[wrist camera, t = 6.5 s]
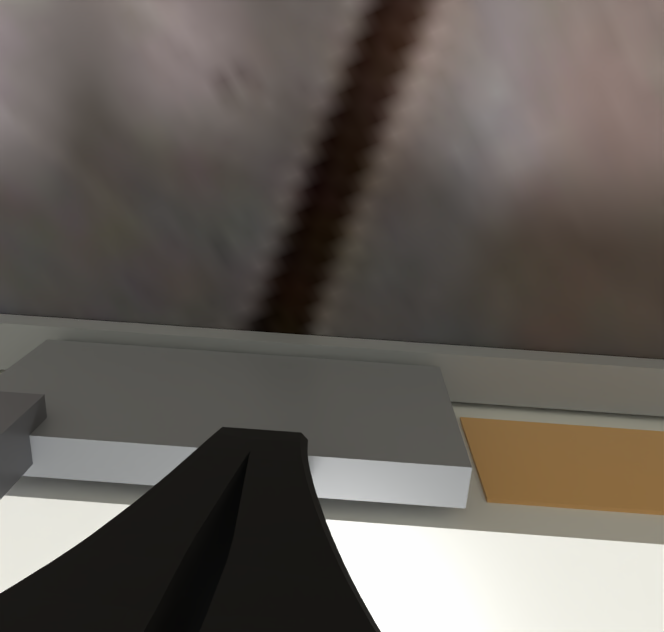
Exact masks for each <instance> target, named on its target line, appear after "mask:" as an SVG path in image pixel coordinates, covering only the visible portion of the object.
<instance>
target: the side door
mask: <svg viewBox="0 0 664 632" xmlns="http://www.w3.org/2000/svg"><path fill="white" fill-rule="evenodd" d="M222 427H233V428H247V429H261V430H275V431H289V432H301V433H302V434H303V435H304V436H305V437H306V438H307V439H308V461H309V467H310V471H311V475H312V479H313V483H314V487H315V490H316V494H317V497H318V498H329V499H343V500H356V501H370V502H383V503H397V504H411V505H424V506H438V507H451V508H465V509H466V503H467V497H468V490H469V484H470V478H471V472H472V466H471V463H470V459H469V456H468V453H467V450H466V447H465V444H464V441H463V438H462V435H461V432H460V428H459V425H458V422H457V419H456V416H455V413H454V410H453V407H452V404H451V401H450V397H449V394H448V391H447V388H446V385H445V382H444V379H443V376H442V373H441V370H440V367H435V366H420V365H406V364H392V363H377V362H363V361H348V360H334V359H320V358H305V357H291V356H277V355H262V354H248V353H234V352H219V351H205V350H191V349H176V348H162V347H148V346H133V345H119V344H105V343H90V342H76V341H62V340H45V341H44V342H43V343H41V344H40V345H39V346H37V347H36V348H35V349H33V350H32V351H31V352H29V353H28V354H27V355H25V356H24V357H23V358H21V359H20V360H19V361H17V362H16V363H15V364H13V365H12V366H11V367H9V368H8V369H7V370H5V371H4V372H3V373H1V374H0V500H1V499H2V497H3V496H4V495H5V494H6V493H7V492H8V491H9V490H10V489H11V488H12V486H13V485H14V484H15V483H16V482H17V481H18V480H19V479H20V478H21V477H22V476H31V477H45V478H58V479H72V480H85V481H99V482H112V483H126V484H139V485H153V486H154V485H156V484H157V483H158V482H159V481H160V480H162V479H163V478H164V477H165V476H166V475H168V474H169V473H170V472H171V471H172V470H173V469H174V468H176V467H177V466H178V465H179V464H180V463H181V462H182V461H184V460H185V459H186V458H187V457H188V456H189V455H190V454H192V453H193V452H194V451H195V450H196V449H197V448H198V447H199V446H200V445H202V444H203V443H204V442H205V441H206V440H207V439H208V438H210V437H211V436H212V435H213V434H214V433H216V432H217V431H218V430H219V429H220V428H222Z"/></svg>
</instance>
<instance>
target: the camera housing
mask: <svg viewBox="0 0 664 632" xmlns="http://www.w3.org/2000/svg"><path fill="white" fill-rule="evenodd" d="M45 340H62V341H76V342H90V343H105V344H119V345H133V346H148V347H162V348H176V349H191V350H205V351H219V352H234V353H248V354H262V355H277V356H291V357H305V358H320V359H334V360H348V361H363V362H377V363H392V364H406V365H420V366H435V367H440V370H441V373H442V376H443V379H444V382H445V385H446V388H447V391H448V394H449V397H450V401H451V404H452V407H453V410H454V413H455V416H456V419H457V422H458V425H459V428H460V432H461V435H462V438H463V441H464V444H465V447H466V450H467V453H468V456H469V459H470V463H471V466H472V472H471V478H470V484H469V490H468V497H467V503H466V509H465V508H451V507H438V506H424V505H411V504H397V503H383V502H370V501H356V500H343V499H329V498H318V499H319V502H320V505H321V508H322V511H323V514H324V517H325V519H326V522H327V525H328V527H329V530H330V532H331V535H332V537H333V540H334V542H335V544H336V546H337V549H338V551H339V553H340V555H341V557H342V560H343V562H344V564H345V566H346V568H347V570H348V572H349V574H350V576H351V579H352V581H353V582H354V584H355V586H356V588H357V590H358V592H359V594H360V596H361V598H362V599H363V601H364V603H365V605H366V607H367V608H368V610H369V612H370V614H371V615H372V617H373V619H374V621H375V623H376V624H377V626H378V627H379V629H380V631H381V632H664V360H663V359H648V358H634V357H619V356H605V355H590V354H576V353H561V352H547V351H532V350H518V349H503V348H489V347H474V346H460V345H445V344H431V343H416V342H402V341H387V340H373V339H358V338H344V337H329V336H315V335H300V334H286V333H271V332H257V331H242V330H228V329H214V328H199V327H185V326H170V325H156V324H141V323H127V322H112V321H98V320H83V319H69V318H54V317H40V316H25V315H11V314H0V374H1V373H3V372H4V371H5V370H7V369H8V368H9V367H11V366H12V365H13V364H15V363H16V362H17V361H19V360H20V359H21V358H23V357H24V356H25V355H27V354H28V353H29V352H31V351H32V350H33V349H35V348H36V347H37V346H39V345H40V344H41V343H43V342H44V341H45ZM152 487H153V485H139V484H126V483H112V482H99V481H85V480H72V479H58V478H45V477H31V476H22V477H21V478H20V479H19V480H18V481H17V482H16V483H15V484H14V485H13V486H12V488H11V489H10V490H9V491H8V492H7V493H6V494H5V495H4V496H3V497H2V499H1V500H0V593H1V592H3V591H5V590H6V589H8V588H10V587H11V586H13V585H15V584H16V583H18V582H20V581H21V580H23V579H24V578H26V577H28V576H29V575H31V574H32V573H34V572H36V571H37V570H39V569H40V568H42V567H44V566H45V565H47V564H48V563H50V562H52V561H53V560H55V559H56V558H58V557H59V556H61V555H62V554H64V553H65V552H67V551H68V550H70V549H71V548H73V547H74V546H76V545H77V544H79V543H80V542H82V541H83V540H84V539H86V538H87V537H89V536H90V535H91V534H93V533H94V532H95V531H97V530H98V529H99V528H101V527H102V526H103V525H105V524H106V523H107V522H109V521H110V520H111V519H113V518H114V517H115V516H117V515H118V514H119V513H121V512H122V511H123V510H125V509H126V508H127V507H129V506H130V505H131V504H133V503H134V502H135V501H136V500H138V499H139V498H140V497H141V496H142V495H144V494H145V493H146V492H147V491H148V490H150V489H151V488H152Z"/></svg>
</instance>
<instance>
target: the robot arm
mask: <svg viewBox="0 0 664 632" xmlns="http://www.w3.org/2000/svg"><path fill="white" fill-rule="evenodd" d="M0 632H381V631H380V629H379V627H378V626H377V624H376V623H375V621H374V619H373V617H372V615H371V614H370V612H369V610H368V608H367V607H366V605H365V603H364V601H363V599H362V598H361V596H360V594H359V592H358V590H357V588H356V586H355V584H354V582H353V581H352V579H351V576H350V574H349V572H348V570H347V568H346V566H345V564H344V562H343V560H342V557H341V555H340V553H339V551H338V549H337V546H336V544H335V542H334V540H333V537H332V535H331V532H330V530H329V527H328V525H327V522H326V519H325V517H324V514H323V511H322V508H321V505H320V502H319V499H318V497H317V494H316V490H315V487H314V483H313V479H312V475H311V471H310V467H309V461H308V439H307V438H306V437H305V436H304V435H303V434H302V433H301V432H289V431H275V430H261V429H247V428H233V427H222V428H220V429H219V430H218V431H217V432H216V433H214V434H213V435H212V436H211V437H210V438H208V439H207V440H206V441H205V442H204V443H203V444H202V445H200V446H199V447H198V448H197V449H196V450H195V451H194V452H193V453H192V454H190V455H189V456H188V457H187V458H186V459H185V460H184V461H182V462H181V463H180V464H179V465H178V466H177V467H176V468H174V469H173V470H172V471H171V472H170V473H169V474H168V475H166V476H165V477H164V478H163V479H162V480H160V481H159V482H158V483H157V484H156V485H154V486H153V487H152V488H151V489H150V490H148V491H147V492H146V493H145V494H144V495H142V496H141V497H140V498H139V499H138V500H136V501H135V502H134V503H133V504H131V505H130V506H129V507H127V508H126V509H125V510H123V511H122V512H121V513H119V514H118V515H117V516H115V517H114V518H113V519H111V520H110V521H109V522H107V523H106V524H105V525H103V526H102V527H101V528H99V529H98V530H97V531H95V532H94V533H93V534H91V535H90V536H89V537H87V538H86V539H84V540H83V541H82V542H80V543H79V544H77V545H76V546H74V547H73V548H71V549H70V550H68V551H67V552H65V553H64V554H62V555H61V556H59V557H58V558H56V559H55V560H53V561H52V562H50V563H48V564H47V565H45V566H44V567H42V568H40V569H39V570H37V571H36V572H34V573H32V574H31V575H29V576H28V577H26V578H24V579H23V580H21V581H20V582H18V583H16V584H15V585H13V586H11V587H10V588H8V589H6V590H5V591H3V592H1V593H0Z"/></svg>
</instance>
